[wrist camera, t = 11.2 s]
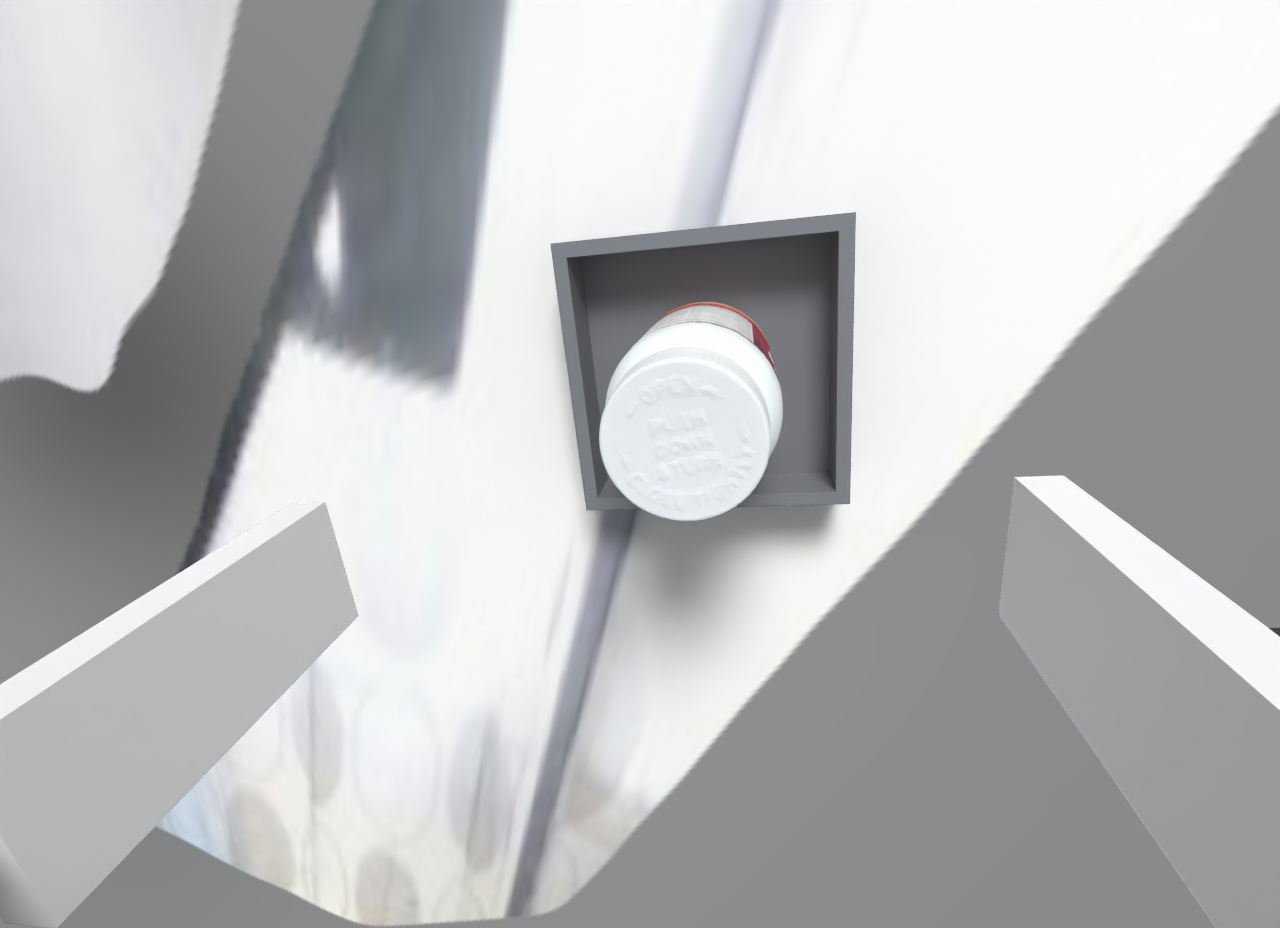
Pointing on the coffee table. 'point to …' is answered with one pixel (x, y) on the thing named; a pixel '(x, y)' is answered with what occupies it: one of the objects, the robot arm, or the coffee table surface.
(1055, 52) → the coffee table surface
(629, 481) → the pill bottle
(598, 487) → the tray
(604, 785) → the coffee table surface
